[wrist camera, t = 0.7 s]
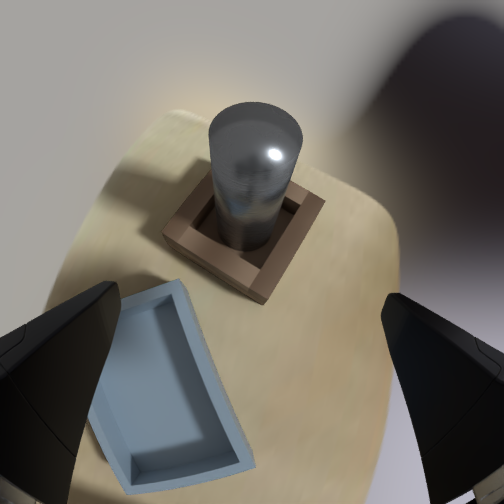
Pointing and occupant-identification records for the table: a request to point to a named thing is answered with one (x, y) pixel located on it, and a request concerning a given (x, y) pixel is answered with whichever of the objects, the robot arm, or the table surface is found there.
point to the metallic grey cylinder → (251, 170)
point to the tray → (165, 399)
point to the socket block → (236, 262)
